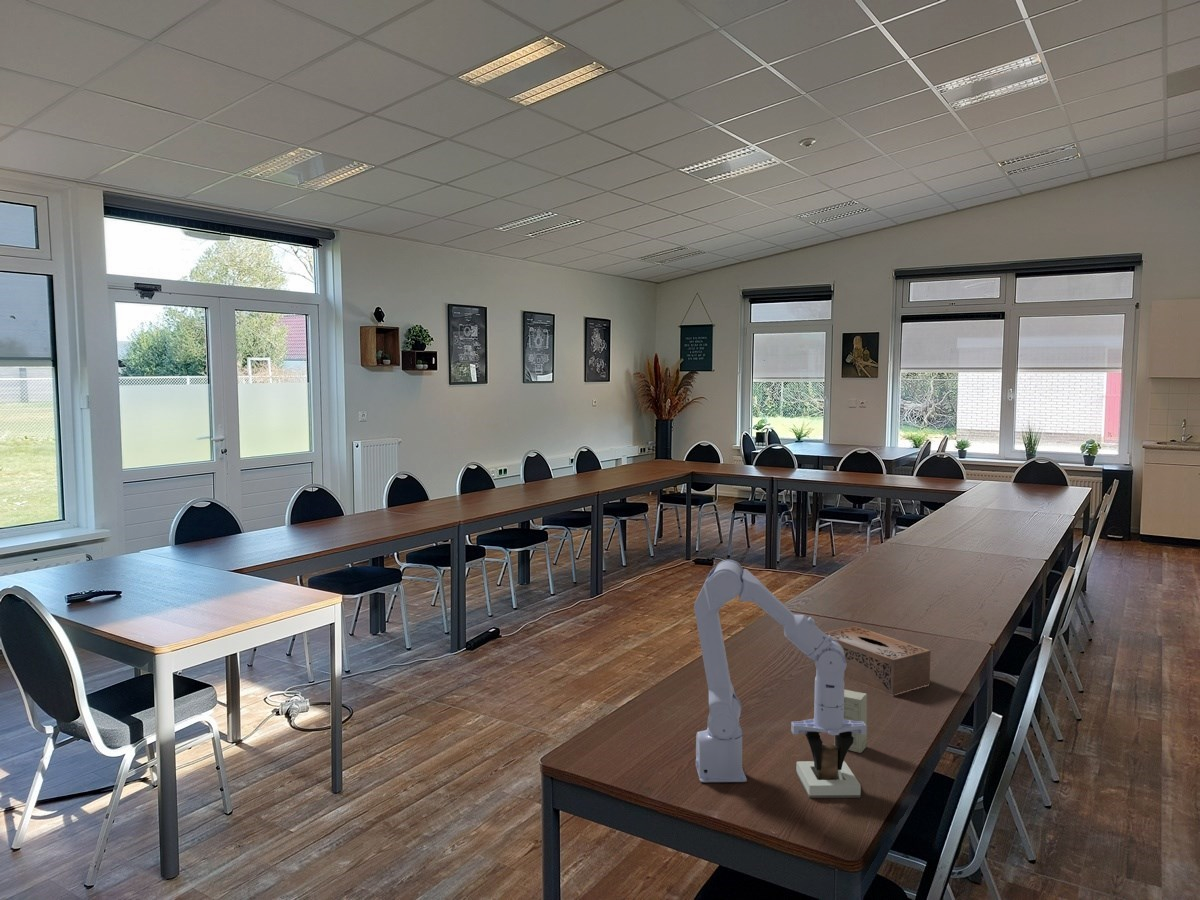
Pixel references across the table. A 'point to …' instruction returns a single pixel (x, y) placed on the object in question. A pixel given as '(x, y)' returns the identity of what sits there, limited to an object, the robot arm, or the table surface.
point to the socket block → (828, 782)
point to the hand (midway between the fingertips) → (827, 767)
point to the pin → (829, 762)
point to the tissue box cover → (882, 660)
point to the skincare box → (856, 716)
